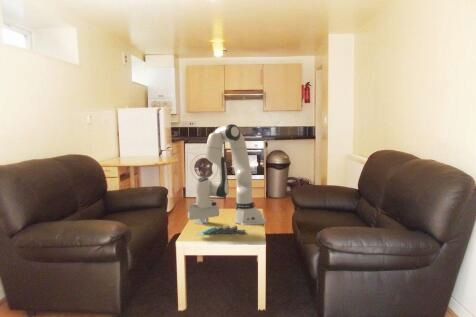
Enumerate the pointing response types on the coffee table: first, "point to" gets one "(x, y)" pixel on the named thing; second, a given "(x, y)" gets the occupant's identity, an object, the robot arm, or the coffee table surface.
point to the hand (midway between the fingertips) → (203, 224)
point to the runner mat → (214, 233)
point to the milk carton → (199, 219)
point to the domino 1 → (209, 230)
